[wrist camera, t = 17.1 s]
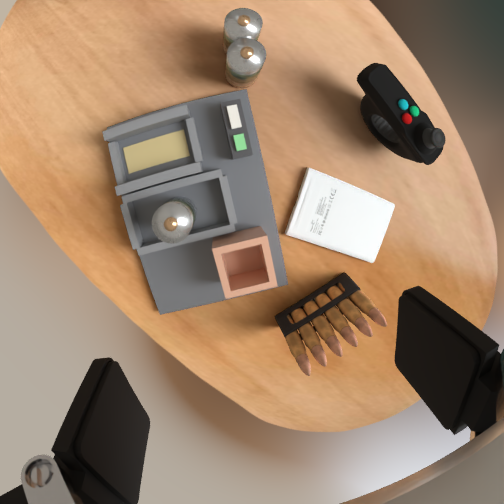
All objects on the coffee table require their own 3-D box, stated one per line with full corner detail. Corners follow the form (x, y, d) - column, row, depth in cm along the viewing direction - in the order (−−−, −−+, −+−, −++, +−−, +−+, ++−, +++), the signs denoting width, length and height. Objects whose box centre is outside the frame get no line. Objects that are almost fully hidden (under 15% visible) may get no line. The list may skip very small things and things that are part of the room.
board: (109, 128, 29) (96, 124, 25) (245, 91, 30) (249, 81, 26) (161, 310, 36) (155, 326, 32) (286, 281, 36) (294, 294, 33)
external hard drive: (367, 260, 38) (283, 232, 35) (389, 202, 36) (305, 167, 33) (373, 263, 36) (286, 235, 34) (395, 204, 34) (310, 167, 32)
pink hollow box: (212, 237, 33) (212, 248, 28) (260, 225, 33) (267, 235, 28) (224, 281, 34) (225, 299, 30) (269, 270, 35) (277, 286, 30)
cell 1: (160, 202, 31) (145, 210, 24) (191, 192, 31) (184, 198, 24) (170, 233, 32) (157, 250, 25) (201, 224, 32) (196, 238, 25)
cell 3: (222, 63, 28) (223, 39, 22) (253, 58, 29) (262, 33, 22) (228, 91, 29) (231, 71, 23) (260, 85, 30) (271, 65, 23)
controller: (391, 168, 34) (441, 172, 24) (330, 91, 31) (368, 68, 21) (410, 148, 33) (460, 148, 24) (352, 73, 30) (393, 49, 20)
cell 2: (220, 36, 27) (221, 8, 21) (250, 31, 28) (258, 3, 21) (226, 61, 28) (228, 37, 22) (257, 56, 29) (267, 32, 22)
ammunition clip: (344, 271, 37) (391, 313, 26) (350, 282, 38) (396, 326, 26) (274, 316, 38) (296, 374, 26) (281, 326, 38) (304, 385, 27)
